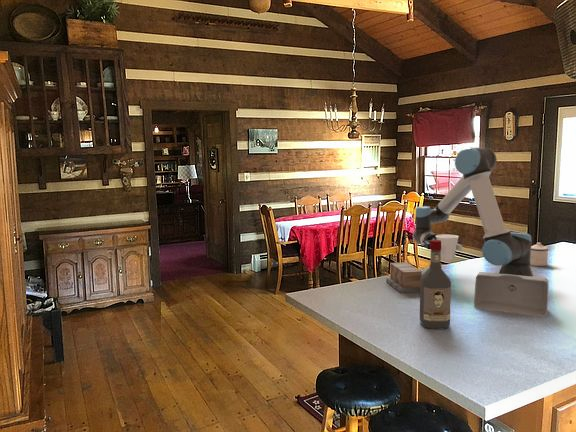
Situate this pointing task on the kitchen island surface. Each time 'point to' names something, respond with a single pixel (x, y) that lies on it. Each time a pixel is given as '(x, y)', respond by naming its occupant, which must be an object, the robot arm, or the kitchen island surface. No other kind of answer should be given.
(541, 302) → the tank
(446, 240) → the cup
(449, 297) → the liquor
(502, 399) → the kitchen island surface
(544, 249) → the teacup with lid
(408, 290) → the brown rectangular block
